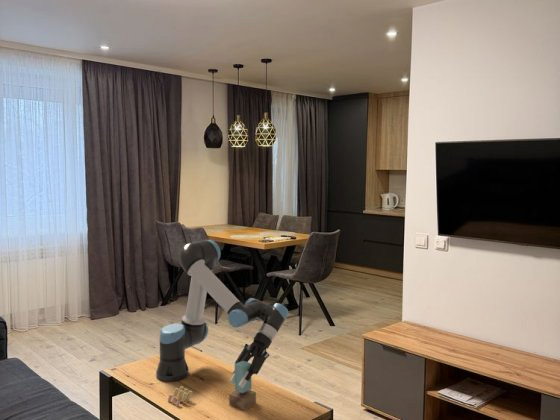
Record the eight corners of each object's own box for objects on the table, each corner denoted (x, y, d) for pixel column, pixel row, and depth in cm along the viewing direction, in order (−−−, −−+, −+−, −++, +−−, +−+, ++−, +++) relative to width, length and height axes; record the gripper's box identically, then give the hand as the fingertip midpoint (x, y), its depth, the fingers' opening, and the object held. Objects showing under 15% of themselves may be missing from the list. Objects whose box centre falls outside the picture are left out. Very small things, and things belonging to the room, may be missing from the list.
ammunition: (182, 384, 213) (166, 390, 207) (192, 390, 208) (177, 396, 202) (182, 395, 213) (166, 401, 207) (192, 401, 208) (177, 407, 202)
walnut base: (229, 405, 205) (229, 394, 204) (240, 398, 211) (241, 387, 211) (244, 411, 200) (244, 399, 200) (255, 403, 207) (255, 392, 207)
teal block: (234, 389, 205) (234, 363, 204) (243, 385, 209) (243, 360, 208) (242, 393, 202) (242, 367, 201) (251, 389, 205) (251, 363, 204)
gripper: (284, 346, 209) (255, 395, 198) (255, 335, 221) (227, 381, 211) (275, 337, 204) (245, 387, 194) (246, 327, 217) (217, 373, 207)
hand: (236, 384), depth 202 cm, fingers closed on teal block, 5 cm apart
